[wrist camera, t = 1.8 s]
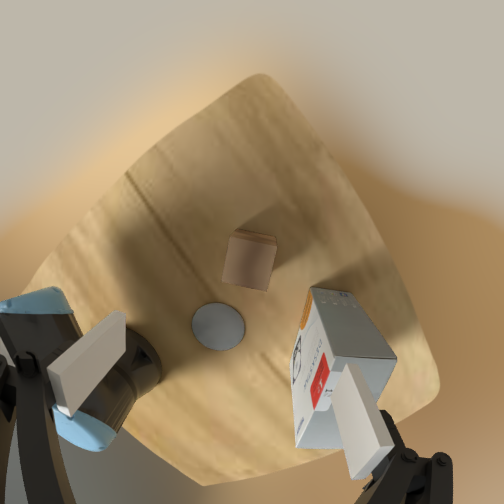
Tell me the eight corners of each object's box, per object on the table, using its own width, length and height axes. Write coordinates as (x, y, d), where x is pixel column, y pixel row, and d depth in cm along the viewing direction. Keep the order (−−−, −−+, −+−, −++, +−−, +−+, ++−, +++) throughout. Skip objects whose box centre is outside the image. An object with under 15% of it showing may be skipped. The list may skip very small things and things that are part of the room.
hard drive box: (308, 285, 43) (336, 352, 24) (352, 292, 43) (403, 356, 23) (287, 364, 46) (295, 449, 27) (327, 369, 46) (351, 450, 27)
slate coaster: (190, 341, 47) (189, 343, 46) (196, 296, 45) (195, 298, 44) (239, 352, 47) (238, 355, 46) (249, 308, 45) (249, 310, 44)
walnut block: (229, 266, 43) (221, 281, 35) (236, 228, 42) (229, 236, 34) (267, 274, 43) (266, 291, 35) (275, 237, 42) (277, 246, 34)
